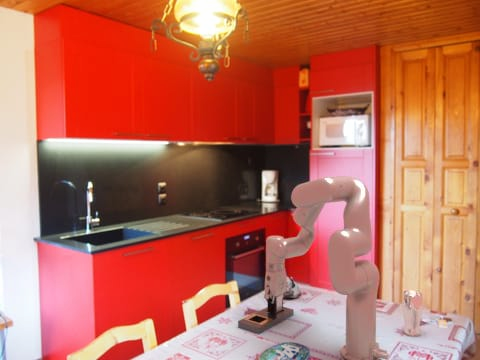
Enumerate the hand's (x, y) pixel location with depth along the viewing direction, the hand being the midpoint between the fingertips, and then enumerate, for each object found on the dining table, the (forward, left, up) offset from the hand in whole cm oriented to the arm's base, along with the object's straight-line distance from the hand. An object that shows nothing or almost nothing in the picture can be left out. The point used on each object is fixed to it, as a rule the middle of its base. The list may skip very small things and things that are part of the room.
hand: (275, 309), depth 164 cm
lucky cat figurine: (+11, -25, -4) cm, 28 cm away
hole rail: (0, +6, -3) cm, 7 cm away
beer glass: (-48, -20, -4) cm, 52 cm away
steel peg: (0, 0, -3) cm, 3 cm away
